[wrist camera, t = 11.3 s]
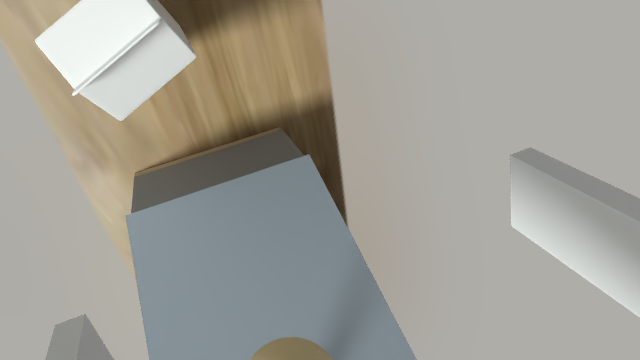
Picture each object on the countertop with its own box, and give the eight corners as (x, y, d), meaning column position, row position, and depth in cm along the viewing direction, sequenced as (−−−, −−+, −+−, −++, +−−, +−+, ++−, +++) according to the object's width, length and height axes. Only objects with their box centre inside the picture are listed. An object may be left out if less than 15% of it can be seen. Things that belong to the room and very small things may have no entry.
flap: (128, 219, 38) (68, 133, 30) (309, 158, 42) (300, 65, 33) (181, 532, 25) (101, 531, 17) (439, 408, 29) (477, 356, 20)
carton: (134, 173, 47) (130, 217, 39) (280, 126, 50) (306, 158, 42) (202, 325, 57) (211, 387, 49) (320, 278, 61) (348, 329, 52)
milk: (81, 14, 40) (13, 47, 21) (133, -31, 40) (112, -37, 21) (133, 67, 43) (116, 139, 24) (182, 26, 43) (202, 66, 24)
